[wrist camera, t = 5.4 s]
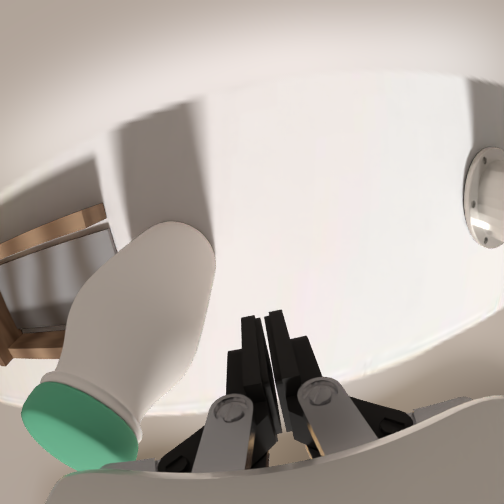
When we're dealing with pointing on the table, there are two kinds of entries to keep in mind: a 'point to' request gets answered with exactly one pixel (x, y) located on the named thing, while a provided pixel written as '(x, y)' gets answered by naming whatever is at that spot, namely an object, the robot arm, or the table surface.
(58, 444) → the milk bottle
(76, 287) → the rest
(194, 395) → the table surface
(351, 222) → the table surface
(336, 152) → the table surface
